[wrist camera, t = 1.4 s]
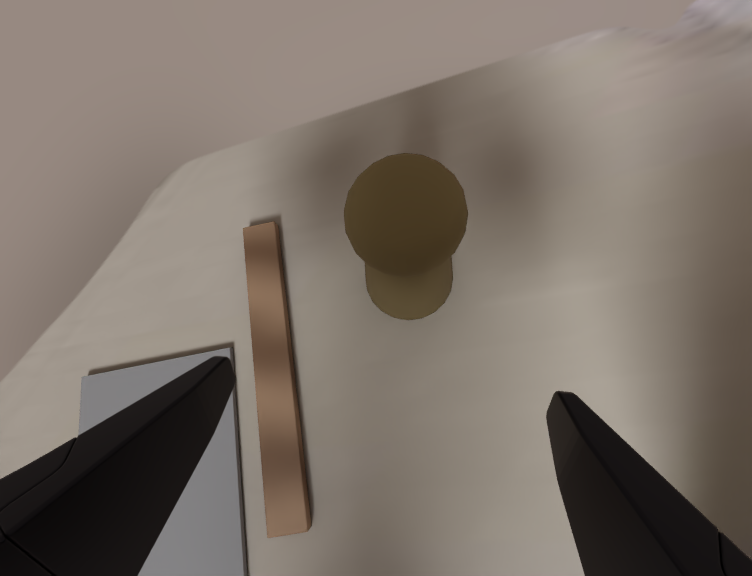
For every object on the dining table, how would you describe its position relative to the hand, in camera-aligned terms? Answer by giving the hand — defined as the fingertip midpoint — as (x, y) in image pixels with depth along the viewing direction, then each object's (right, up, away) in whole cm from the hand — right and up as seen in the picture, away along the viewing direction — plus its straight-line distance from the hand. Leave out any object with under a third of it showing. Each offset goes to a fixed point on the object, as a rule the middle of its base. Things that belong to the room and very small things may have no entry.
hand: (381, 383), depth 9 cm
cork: (+2, +3, +14) cm, 15 cm away
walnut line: (-7, -2, +14) cm, 15 cm away
